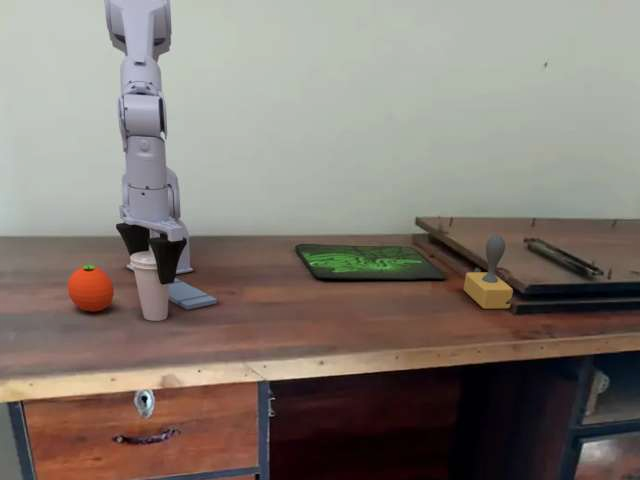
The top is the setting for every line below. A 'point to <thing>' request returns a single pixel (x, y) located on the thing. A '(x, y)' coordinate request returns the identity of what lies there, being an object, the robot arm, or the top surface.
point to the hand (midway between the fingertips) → (154, 276)
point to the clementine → (90, 288)
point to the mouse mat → (367, 262)
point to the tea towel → (188, 295)
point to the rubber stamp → (489, 279)
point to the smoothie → (150, 285)
